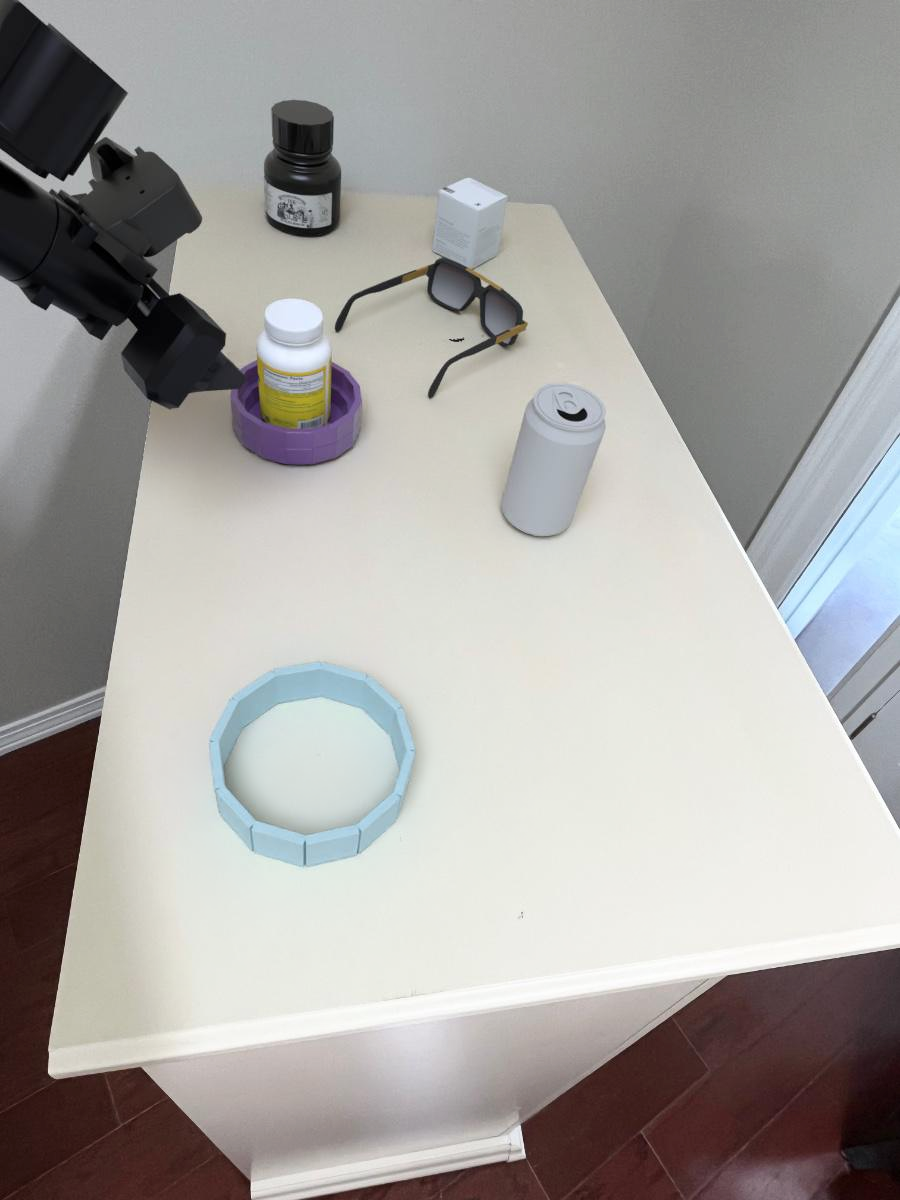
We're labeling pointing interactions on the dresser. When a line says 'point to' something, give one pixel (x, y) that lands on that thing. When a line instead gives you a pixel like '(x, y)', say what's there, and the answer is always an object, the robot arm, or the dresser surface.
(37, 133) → the robot arm
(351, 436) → the purple bowl
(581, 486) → the beverage can
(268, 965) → the dresser surface
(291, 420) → the pill bottle
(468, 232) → the white cardboard box
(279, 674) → the light blue ring
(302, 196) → the ink bottle
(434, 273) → the sunglasses
